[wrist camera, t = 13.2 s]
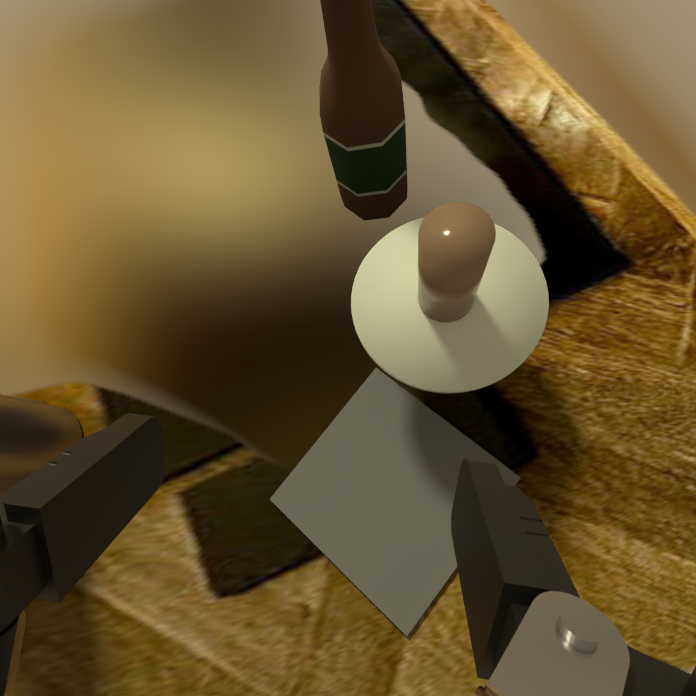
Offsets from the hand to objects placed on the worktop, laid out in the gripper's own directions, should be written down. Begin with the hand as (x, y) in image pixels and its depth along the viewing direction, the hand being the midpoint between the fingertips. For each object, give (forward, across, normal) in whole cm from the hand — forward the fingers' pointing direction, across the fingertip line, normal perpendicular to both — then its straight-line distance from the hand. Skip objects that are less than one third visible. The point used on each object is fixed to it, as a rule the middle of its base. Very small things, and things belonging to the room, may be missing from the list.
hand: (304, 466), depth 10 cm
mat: (+21, -4, +17) cm, 28 cm away
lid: (+21, -6, -1) cm, 22 cm away
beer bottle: (+40, +1, -9) cm, 41 cm away
